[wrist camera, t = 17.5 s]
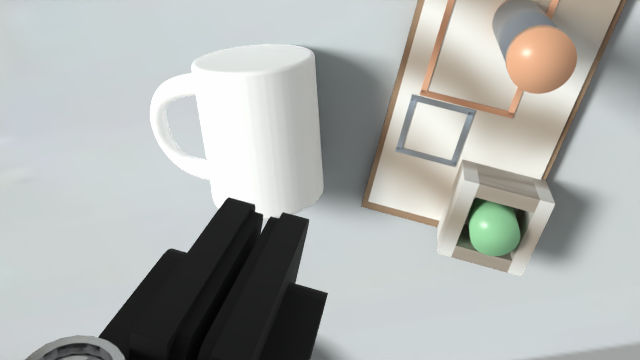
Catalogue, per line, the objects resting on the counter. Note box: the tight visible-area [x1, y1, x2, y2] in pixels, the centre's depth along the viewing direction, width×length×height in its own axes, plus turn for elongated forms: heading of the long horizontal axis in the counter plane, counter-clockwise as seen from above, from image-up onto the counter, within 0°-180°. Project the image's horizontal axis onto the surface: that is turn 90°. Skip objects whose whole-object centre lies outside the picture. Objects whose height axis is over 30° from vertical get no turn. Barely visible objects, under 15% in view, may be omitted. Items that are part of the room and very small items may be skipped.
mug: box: [150, 44, 324, 219], centre depth 38 cm, size 12×10×8 cm
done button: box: [468, 198, 520, 256], centre depth 38 cm, size 3×3×3 cm
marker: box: [492, 0, 577, 94], centre depth 30 cm, size 3×3×10 cm
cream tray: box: [361, 0, 627, 276], centre depth 36 cm, size 22×12×4 cm, turn 169°
